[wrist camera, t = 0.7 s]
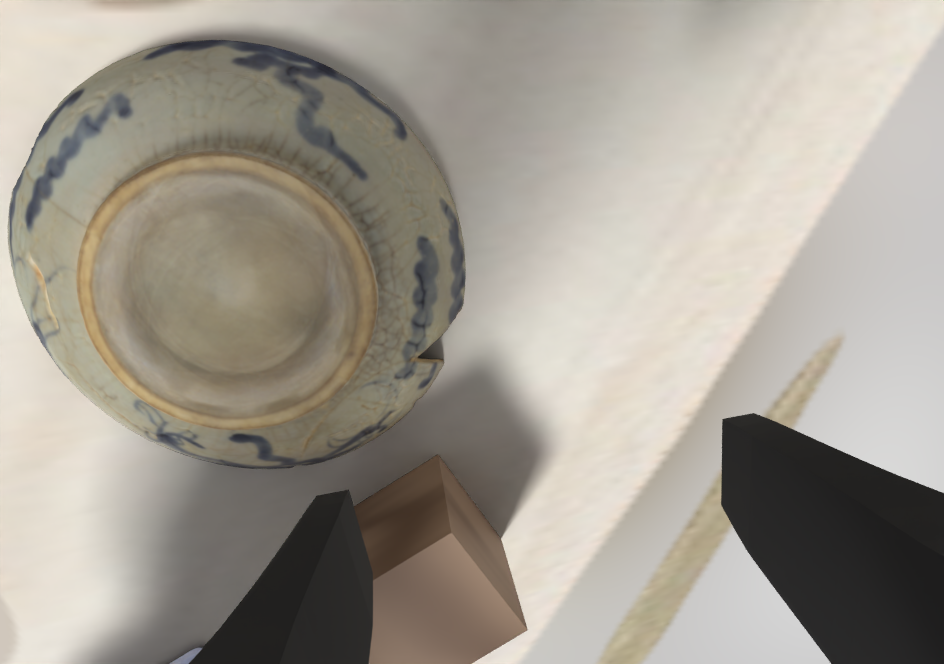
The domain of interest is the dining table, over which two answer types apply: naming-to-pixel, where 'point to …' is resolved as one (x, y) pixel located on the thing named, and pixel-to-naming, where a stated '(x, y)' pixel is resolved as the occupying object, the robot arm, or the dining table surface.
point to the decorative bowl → (237, 253)
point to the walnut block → (435, 573)
